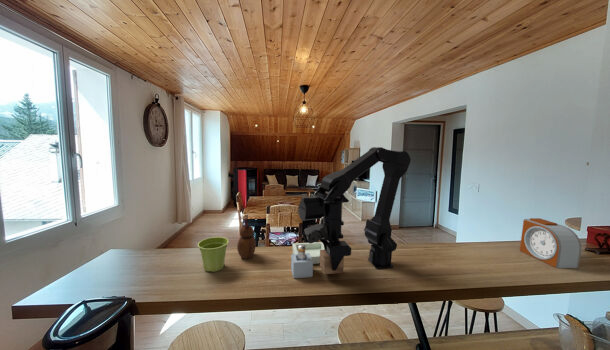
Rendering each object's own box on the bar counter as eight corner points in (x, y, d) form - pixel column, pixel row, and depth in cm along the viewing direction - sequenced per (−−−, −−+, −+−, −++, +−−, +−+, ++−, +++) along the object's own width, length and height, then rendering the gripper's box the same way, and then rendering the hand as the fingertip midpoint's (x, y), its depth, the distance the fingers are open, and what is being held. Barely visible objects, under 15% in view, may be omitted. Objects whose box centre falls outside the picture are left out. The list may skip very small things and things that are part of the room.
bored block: (309, 267, 80) (309, 252, 80) (312, 276, 75) (312, 261, 74) (291, 268, 79) (291, 254, 79) (293, 278, 74) (293, 262, 73)
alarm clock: (516, 249, 97) (520, 216, 96) (536, 249, 98) (541, 217, 96) (555, 268, 83) (560, 229, 81) (578, 268, 83) (585, 230, 81)
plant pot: (234, 267, 79) (234, 242, 78) (206, 278, 73) (205, 251, 72) (220, 258, 86) (220, 234, 85) (193, 267, 79) (192, 242, 78)
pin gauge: (304, 270, 78) (304, 243, 77) (305, 274, 76) (306, 246, 75) (297, 270, 78) (297, 244, 77) (298, 274, 76) (298, 247, 75)
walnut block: (337, 263, 79) (337, 248, 79) (343, 272, 73) (343, 256, 73) (319, 264, 78) (319, 249, 78) (324, 274, 72) (324, 258, 72)
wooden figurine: (250, 261, 84) (249, 219, 82) (235, 259, 85) (234, 218, 83) (258, 252, 90) (257, 214, 89) (243, 251, 92) (243, 213, 90)
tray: (322, 248, 95) (322, 242, 95) (330, 262, 84) (330, 255, 83) (292, 250, 93) (292, 243, 93) (296, 265, 82) (296, 257, 81)
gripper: (301, 209, 81) (301, 253, 83) (312, 228, 63) (311, 284, 65) (333, 208, 83) (332, 251, 85) (353, 226, 65) (350, 280, 67)
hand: (331, 265), depth 76 cm, fingers closed on walnut block, 6 cm apart
